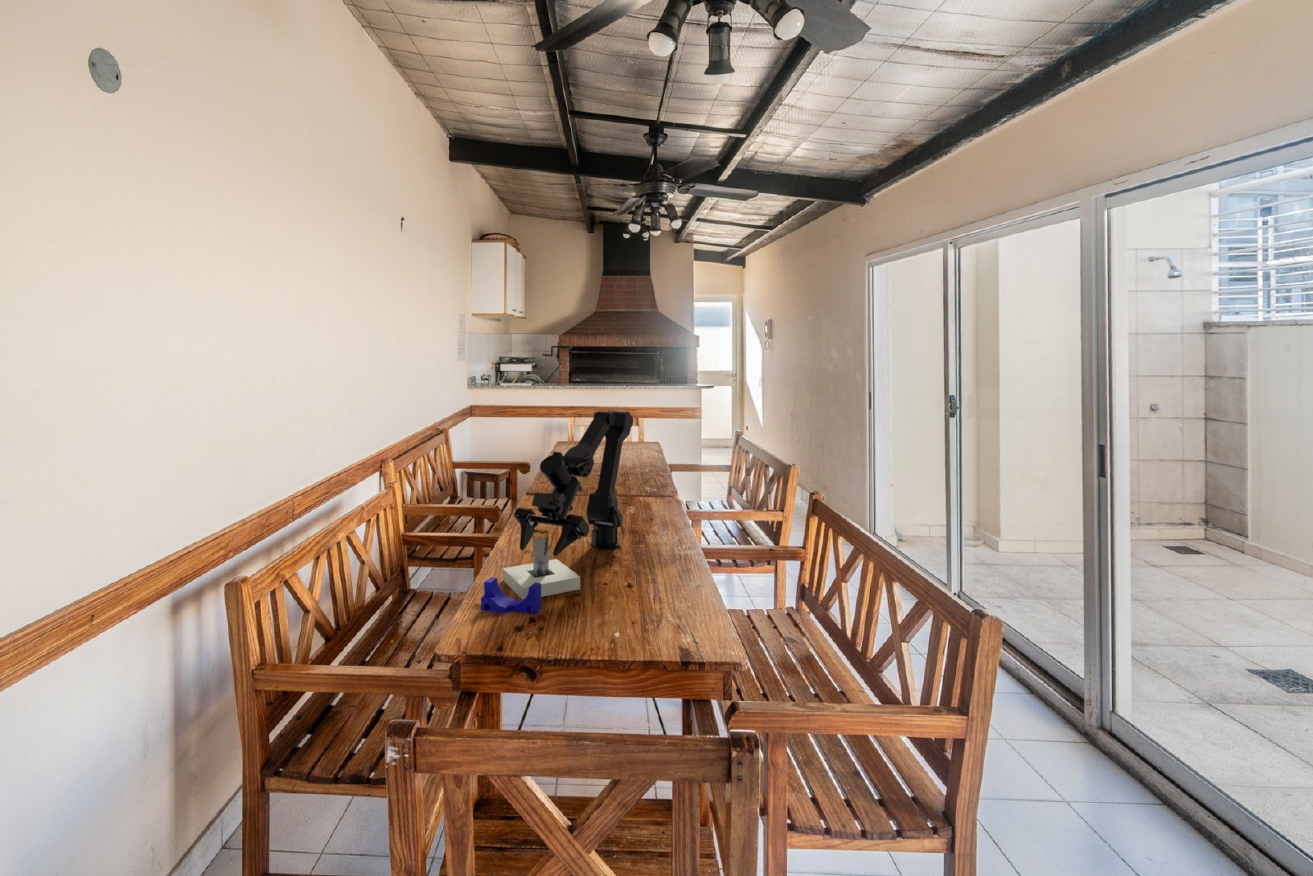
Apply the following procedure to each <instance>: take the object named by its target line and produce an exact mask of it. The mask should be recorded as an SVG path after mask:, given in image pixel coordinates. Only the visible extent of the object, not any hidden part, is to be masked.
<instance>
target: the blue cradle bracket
mask: <svg viewBox="0 0 1313 876" xmlns="http://www.w3.org/2000/svg"><path fill="white" fill-rule="evenodd" d="M483 585H484V586H483V588H484V589H483V590H484V591H483V592H484V594H483V596H481V597H480V610H481V611H485V612H492V613H500V614H508V613H509V612H517V613H524V614H531V615H532V614H533V615H536V614H537V613H538V612H539V611H541V609H542V597H541V583H534V584H532V585H531V586H530V587H529V591H528V595H527V597H526V598H525V599H515V598H511V597H509V596H508V595H506V594H505V593H504V592H503V590H501V587H500V585H499V582H498V577H492V576H491V577H489V578H488V579H486V580H485V581H484V582H483Z"/></svg>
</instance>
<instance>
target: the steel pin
mask: <svg viewBox="0 0 1313 876" xmlns="http://www.w3.org/2000/svg"><path fill="white" fill-rule="evenodd" d="M535 530H536V529H535ZM532 541H533V542H532V543H533V544H532V548H533V549H532V552H533V553H532V556H533V558H532V560H533V562H532V563H533V577H534V578H537V577H543V576H548V575H549V560H550V557H549V555H550V554H549V553H550V551H549V545H550V544H549V541H550V540H549V530H546V529H537V530H536V531H534V532H533V536H532Z"/></svg>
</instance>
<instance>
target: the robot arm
mask: <svg viewBox="0 0 1313 876" xmlns="http://www.w3.org/2000/svg"><path fill="white" fill-rule="evenodd" d="M633 425H634V417H633V415H631V413H630V411H626V410H614V409H609V410H597V411H595V412H594V414H593V418H592V420H591V422H590V424H589V426H588V427H587V429H586V430H585V432H584V433H583V435H582V437H581V438H580V440H579V442H578V443H577V444H576V445H574V446H572V447H571V448H569V449H568V450H567V451H566V453H564V454H563V453H562V452H559V451H554V452H553V453H552V455H549V456H547V457H545V458H543V460H542V461H541V462H540V465H539V469H540V471H541V472H542V474H543V476H544V477H545V478H546V480H547V481H548V483H549V484H550V486H552V487H553V488H552V491H551V492H547V493H541V492H534V493H533V498H532V502H531V506H532V507H536V508H537V511H538V512H539V513H541V514H536V512H535V511H534V510H533V508H530V507H523V506H519V507H517V508H516V509H515V511H514V512H513V515H512V516H513V518H515V520H516V521H517V523H519V526H520V541H519V550H520V551H522V552H523V551H524V550H525V549H526V547H527V546H528V545H529V543H530V541H531V539H533V532H534V531H536V529H535V528H537V527H538V524H542V525H549V526H555V527H561V533H560V535H559V538H558V540H557V542H556V544H555V547H554V549H553V553H552V555H553V556H554V557H557V556H559V555H560V553H562V552H563V551H565V549H566V548H567V547H569V546H570V545H571V544H573V543H574V542H575V541H577V540H581V539H582V537H584V538H585V537H586V538H587V537H588V534H589V532H590V525H593V526H592V527H593V528H592V530H591V541H590V544H591V545H592V546H594V547H595V548H597V549H598V550H601V551H602V550H607V549H613V548H617V547H618V548H619V547H621V543H618V528H621V527H622V526H623V521H624V517H623V515H622V513H621V511H620V510H619V500H618V498H617V496H616V492H615V490H616V483H617V478H618V472H619V465H620V459H621V454H622V450H623V449H622V447H623V444H624V441H625V440H626V439H627V438H628V436H630V433H631V430H632V427H633ZM604 438H605V442H604V443H605V444H604V447H603V455H602V461H601V466H600V471H599V478H598V482H597V483H598V484H597V489H595V491H594V492H593V493H590V494H589V495H588V502H587V506H586V511H585V512H586V518H587V521H586V520H585V518H584V517H583V515H577V514H571V513H570V514H569V512H572V511H573V510H574V507H573V505H572V504H573V502H574V499H575V498H576V496H577V493H578V492H580V493H582V492H583V487H582V485H581V480H578V478H587V477H588V476H589V475H590V474H591V472H592V470H593V468H594V465H595V461H594V455H595V453H596V451H597V450H598V448H599V446H600V444H601V443H602V441H603V439H604ZM577 477H578V478H577ZM587 522H588V523H587Z"/></svg>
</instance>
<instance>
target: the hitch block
mask: <svg viewBox="0 0 1313 876" xmlns="http://www.w3.org/2000/svg"><path fill="white" fill-rule="evenodd" d="M502 581H503V582H505V584H506V585H507V586H508V587H509V588H510V589H511V590H512V591H513V592H514V593H515V594H516V595H517V596H518V597H519V598H520V600H522V599H525V598H526V597H527V595H528V591H529V587H530V586H531V585H532V584H534V583H541V598H542V597H547V596H553V595H556V594H562V593H567V592H572V591H577V590H581V576H580V575H578V574H577V573H576V572H575V571H573V570H572V569H570V568H569V567H568V566H567V565H565V564H564V563H562V562H561V561H560V560H558V559H557V558H555V559H549V575H548V576H543V577H537V578H534V577H533V562H531V563H526V564H521V565H520V564H519V565H515V566H508V567H502Z"/></svg>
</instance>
